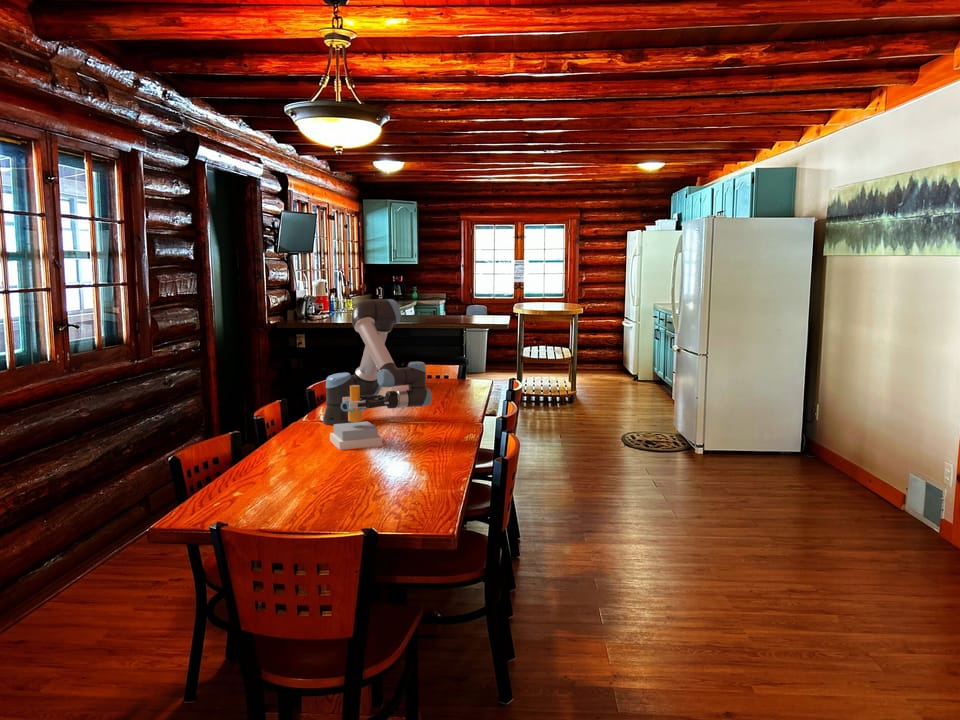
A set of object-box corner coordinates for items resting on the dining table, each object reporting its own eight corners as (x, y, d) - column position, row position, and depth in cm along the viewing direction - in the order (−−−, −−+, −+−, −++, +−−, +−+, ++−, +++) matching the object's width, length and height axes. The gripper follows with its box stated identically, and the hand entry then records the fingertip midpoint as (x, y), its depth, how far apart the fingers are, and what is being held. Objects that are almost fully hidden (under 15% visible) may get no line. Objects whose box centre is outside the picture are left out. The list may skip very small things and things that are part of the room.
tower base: (330, 442, 310) (329, 432, 310) (370, 438, 318) (370, 429, 317) (339, 451, 294) (339, 442, 293) (382, 447, 301) (382, 437, 301)
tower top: (333, 433, 309) (333, 424, 308) (367, 430, 315) (367, 421, 315) (342, 441, 295) (342, 431, 295) (377, 437, 302) (377, 428, 301)
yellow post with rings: (362, 424, 297) (361, 388, 296) (338, 423, 299) (337, 387, 298) (372, 418, 309) (371, 384, 307) (349, 417, 311) (348, 383, 309)
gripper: (404, 412, 300) (353, 416, 292) (388, 403, 322) (339, 406, 313) (404, 395, 299) (352, 398, 291) (388, 386, 321) (339, 389, 312)
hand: (345, 402), depth 302 cm, fingers closed on yellow post with rings, 11 cm apart
